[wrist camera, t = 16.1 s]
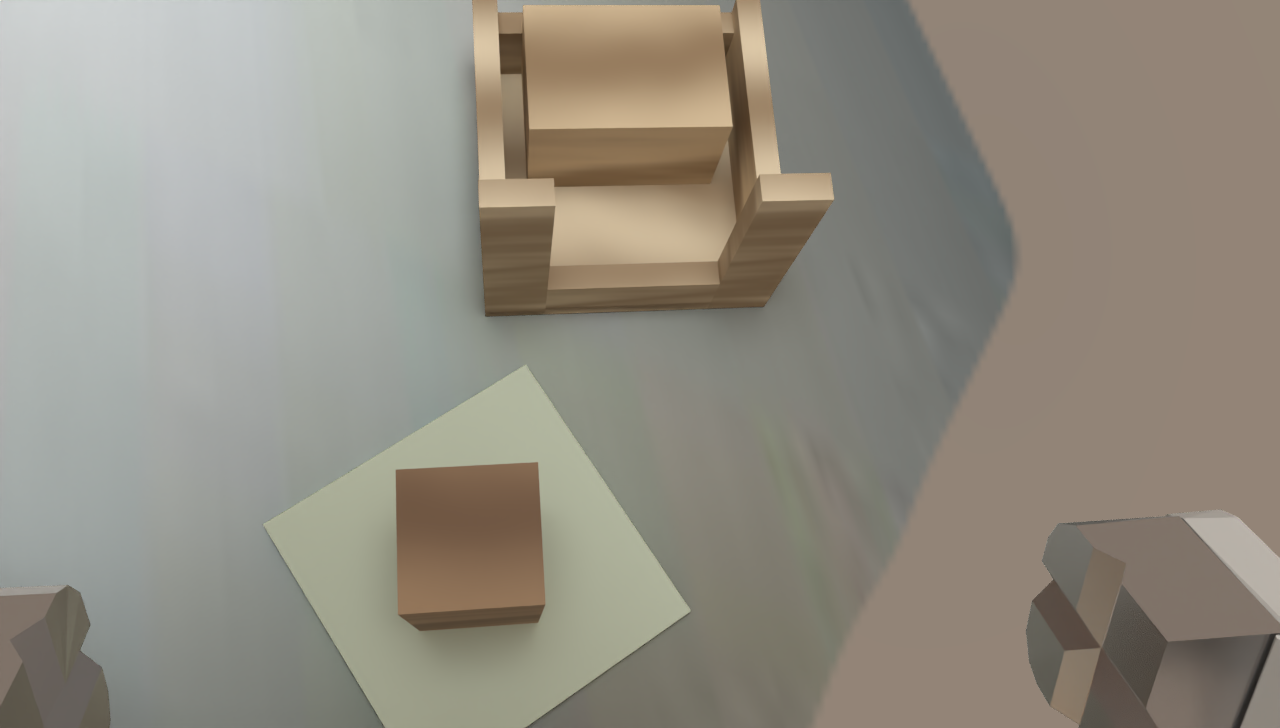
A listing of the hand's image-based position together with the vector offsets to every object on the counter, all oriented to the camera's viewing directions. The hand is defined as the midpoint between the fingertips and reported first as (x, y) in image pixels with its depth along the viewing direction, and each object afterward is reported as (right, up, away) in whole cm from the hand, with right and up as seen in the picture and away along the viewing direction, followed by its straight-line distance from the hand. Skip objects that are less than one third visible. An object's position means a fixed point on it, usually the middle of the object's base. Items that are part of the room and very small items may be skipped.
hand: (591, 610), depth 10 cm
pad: (-6, -6, +35) cm, 36 cm away
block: (-6, -6, +34) cm, 35 cm away
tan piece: (-1, +10, +40) cm, 41 cm away
